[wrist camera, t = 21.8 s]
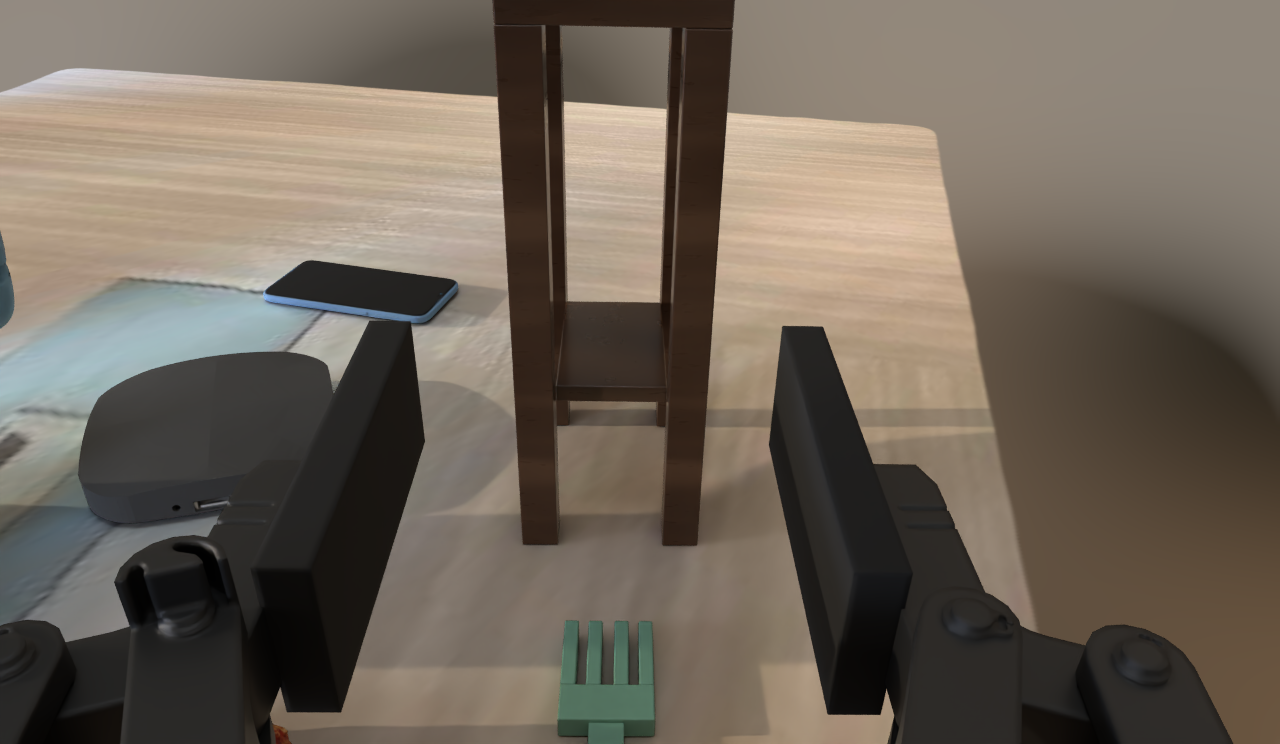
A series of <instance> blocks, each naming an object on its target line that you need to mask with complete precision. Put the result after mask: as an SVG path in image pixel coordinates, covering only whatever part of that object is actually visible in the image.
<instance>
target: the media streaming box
mask: <svg viewBox="0 0 1280 744" xmlns="http://www.w3.org/2000/svg"><path fill="white" fill-rule="evenodd" d="M332 397H333V391H332V385H331V379H330V374H329V370H328V366H327V365H326V364H325V363H324V362H322V361H320V360H318V359H316V358H313V357H310V356H307V355H303V354H297V353H290V352H250V353H237V354H227V355H219V356H211V357H205V358H199V359H194V360H188V361H184V362H179V363H174V364H170V365H166V366H162V367H159V368H155V369H151V370H149V371H146V372H143V373H141V374H138V375H136V376H134V377H131V378H129V379H127V380H125V381H123V382H121V383H119V384H117V385H116V386H114V387H112V388H111V389H109V390H108V391H106V392H105V393H104V394H103V395H101V396H100V397H99V399H98V400H97V402H96V404H95V406H94V408H93V410H92V412H91V414H90V417H89V420H88V422H87V426H86V429H85V433H84V437H83V441H82V446H81V452H80V460H79V471H78V476H79V479H80V482H81V485H82V488H83V491H84V493H85V496H86V499H87V502H88V504H89V507H90V509H91V510H92V511H93V512H94V513H95V514H96V515H98V516H99V517H101V518H104V519H106V520H110V521H114V522H120V523H139V522H146V521H153V520H160V519H167V518H173V517H180V516H186V515H192V514H198V513H204V512H210V511H216V510H221V509H224V507H225V506H227V502H228V500H229V498H230V496H231V495H232V493H233V491H234V489H235V487H236V486H237V484H238V482H239V480H240V479H241V478H243V477H244V476H245V475H246V474H247V473H249V472H250V471H251V470H252V469H254V468H255V467H256V466H257V465H258V464H260V463H261V462H262V461H263V460H302V459H303V457H304V455H305V453H306V451H307V449H308V447H309V445H310V443H311V441H312V439H313V437H314V434H315V432H316V430H317V428H318V426H319V424H320V422H321V420H322V418H323V416H324V414H325V412H326V410H327V408H328V406H329V403H330V401H331V399H332Z"/></svg>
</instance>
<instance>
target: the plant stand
mask: <svg viewBox="0 0 1280 744" xmlns="http://www.w3.org/2000/svg"><path fill="white" fill-rule="evenodd" d="M492 3H493V20H494V39H495V58H496V75H497V94H498V112H499V130H500V148H501V166H502V184H503V201H504V219H505V237H506V255H507V273H508V291H509V308H510V326H511V344H512V362H513V380H514V398H515V415H516V433H517V451H518V469H519V487H520V505H521V522H522V540H523V544H558V534H559V523H560V517H559V482H558V448H557V425H568V424H569V414H570V401H627V402H656V422H657V426H665V449H664V473H663V496H662V519H661V526H662V544H663V545H697V539H698V524H699V510H700V495H701V481H702V467H703V452H704V438H705V424H706V409H707V395H708V380H709V366H710V352H711V337H712V323H713V308H714V294H715V280H716V265H717V251H718V236H719V222H720V208H721V193H722V179H723V164H724V150H725V136H726V121H727V106H728V92H729V78H730V62H731V48H732V34H733V30H732V28H733V20H734V4H735V0H492ZM565 25H566V26H612V27H660V28H661V27H663V28H670V37H669V64H668V92H667V119H666V146H665V174H664V201H663V229H662V256H661V284H660V303H642V302H568V289H567V240H566V190H565V140H564V94H563V42H562V26H565Z"/></svg>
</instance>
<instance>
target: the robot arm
mask: <svg viewBox="0 0 1280 744" xmlns="http://www.w3.org/2000/svg"><path fill="white" fill-rule="evenodd" d="M13 311H14V292H13V285H12V280H11V276H10V273H9V269H8V266H7V265H6V256H5V248H4V244H3V240H2V236H1V232H0V329H1V328H2V327H3V326H5V325H6V324H7V323H8V321H9V320H10V318H11V316H12V314H13ZM424 443H425V438H424V429H423V421H422V412H421V404H420V395H419V387H418V378H417V370H416V361H415V353H414V344H413V336H412V327H411V321H369V323H368V325H367V327H366V329H365V331H364V333H363V335H362V337H361V339H360V341H359V344H358V346H357V348H356V350H355V352H354V354H353V356H352V358H351V360H350V362H349V364H348V366H347V368H346V370H345V372H344V375H343V377H342V379H341V381H340V383H339V385H338V387H337V389H336V391H335V393H334V395H333V397H332V399H331V401H330V403H329V406H328V408H327V410H326V412H325V414H324V416H323V418H322V420H321V422H320V424H319V426H318V428H317V430H316V432H315V434H314V437H313V439H312V441H311V443H310V445H309V447H308V449H307V451H306V453H305V455H304V457H303V459H302V460H263V461H262V462H261V463H260V464H258V465H257V466H256V467H255V468H254V469H252V470H251V471H250V472H249V473H247V474H246V475H245V476H244V477H243V478H241V479H240V480H239V482H238V484H237V486H236V487H235V489H234V491H233V493H232V495H231V496H230V498H229V500H228V502H227V506H225V507H224V509H223V511H222V512H221V514H220V516H219V518H218V520H217V525H214V527H213V529H212V530H211V532H210V534H209V536H208V537H201V536H196V535H190V536H179V537H172V538H169V539H166V540H162V541H159V542H156V543H153V544H151V545H149V546H148V547H146V548H144V549H142V550H141V551H139V552H137V553H135V554H134V555H133V556H132V557H131V558H130V559H129V560H128V561H127V562H126V563H125V564H124V565H123V566H122V567H121V568H120V569H119V572H118V574H117V577H116V579H115V581H114V583H115V586H116V589H117V592H118V594H119V597H120V600H121V603H122V605H123V608H124V611H125V614H126V617H127V619H128V622H129V625H130V627H127V628H124V629H120V630H117V631H114V632H110V633H106V634H101V635H97V636H92V637H88V638H84V639H79V640H75V641H70V642H65V640H64V638H63V636H62V634H61V631H60V629H59V628H58V627H56V626H54V625H52V624H50V623H48V622H46V621H36V620H24V621H18V622H13V623H8V624H4V625H1V626H0V744H276V740H275V732H274V728H273V724H272V721H271V717H270V712H271V709H272V707H273V704H274V701H275V699H276V696H277V694H278V691H279V688H280V687H281V691H282V695H283V699H284V703H285V706H286V710H287V712H341V711H342V708H343V704H344V701H345V698H346V695H347V692H348V688H349V685H350V682H351V679H352V675H353V672H354V669H355V666H356V662H357V659H358V656H359V653H360V649H361V646H362V643H363V640H364V637H365V633H366V630H367V627H368V624H369V620H370V617H371V614H372V611H373V607H374V604H375V601H376V598H377V594H378V591H379V588H380V585H381V582H382V578H383V575H384V572H385V569H386V565H387V562H388V559H389V556H390V552H391V549H392V546H393V543H394V540H395V536H396V533H397V530H398V527H399V523H400V520H401V517H402V514H403V510H404V507H405V504H406V501H407V497H408V494H409V491H410V488H411V485H412V481H413V478H414V475H415V472H416V468H417V465H418V462H419V459H420V455H421V452H422V449H423V446H424ZM769 447H770V452H771V457H772V461H773V466H774V470H775V475H776V479H777V484H778V489H779V493H780V498H781V502H782V507H783V512H784V516H785V521H786V525H787V530H788V535H789V539H790V544H791V548H792V553H793V557H794V562H795V567H796V571H797V576H798V580H799V585H800V590H801V594H802V599H803V603H804V608H805V613H806V617H807V622H808V626H809V631H810V635H811V640H812V645H813V649H814V654H815V658H816V663H817V668H818V672H819V677H820V681H821V686H822V690H823V695H824V700H825V704H826V709H827V713H828V715H881V710H882V706H883V702H884V697H885V693H886V689H887V692H888V695H889V699H890V702H891V705H892V709H893V712H894V719H893V723H892V728H891V732H890V736H889V740H888V744H1233V742H1232V740H1231V738H1230V736H1229V735H1228V732H1227V730H1226V728H1225V726H1224V724H1223V722H1222V720H1221V718H1220V716H1219V714H1218V712H1217V710H1216V708H1215V707H1214V705H1213V703H1212V701H1211V699H1210V697H1209V695H1208V693H1207V691H1206V689H1205V687H1204V685H1203V683H1202V681H1201V679H1200V677H1199V675H1198V673H1197V671H1196V669H1195V667H1194V666H1193V665H1192V663H1191V662H1190V661H1189V659H1188V658H1187V657H1186V655H1185V654H1184V653H1183V652H1182V651H1181V650H1180V649H1178V648H1177V647H1176V646H1174V645H1173V644H1172V643H1170V642H1169V641H1168V640H1166V639H1165V638H1163V637H1161V636H1159V635H1157V634H1154V633H1152V632H1150V631H1148V630H1146V629H1142V628H1137V627H1133V626H1128V625H1111V626H1104V627H1102V628H1100V629H1098V630H1096V631H1094V632H1092V634H1091V636H1090V638H1089V640H1088V641H1087V643H1086V646H1085V645H1081V644H1077V643H1073V642H1068V641H1065V640H1061V639H1057V638H1053V637H1049V636H1045V635H1042V634H1039V633H1036V632H1033V631H1030V630H1028V629H1026V628H1024V627H1022V626H1020V622H1019V619H1018V618H1017V617H1016V616H1015V614H1014V613H1013V612H1012V611H1011V609H1010V608H1009V607H1008V606H1007V605H1006V604H1004V603H1003V602H1001V601H1000V600H998V599H997V598H995V597H994V596H993V595H990V594H988V593H985V591H984V588H983V586H982V584H981V582H980V580H979V577H978V575H977V573H976V571H975V568H974V566H973V564H972V562H971V559H970V557H969V555H968V553H967V550H966V548H965V546H964V544H963V542H962V539H961V537H960V535H959V533H958V530H957V529H955V524H954V521H953V519H952V517H951V515H950V512H949V511H947V506H946V504H945V501H944V499H943V497H942V495H941V492H940V490H939V488H938V486H937V484H936V483H935V482H934V481H933V480H932V479H931V478H929V477H928V476H927V475H926V474H925V473H924V472H923V471H922V470H921V469H920V468H919V467H918V466H917V465H899V464H873V462H872V459H871V457H870V454H869V451H868V448H867V446H866V443H865V440H864V438H863V435H862V432H861V429H860V427H859V424H858V421H857V418H856V416H855V413H854V410H853V408H852V405H851V402H850V399H849V397H848V394H847V391H846V388H845V386H844V383H843V380H842V378H841V375H840V372H839V369H838V367H837V364H836V361H835V358H834V356H833V353H832V350H831V347H830V345H829V342H828V339H827V337H826V334H825V331H824V328H823V327H814V326H782V335H781V343H780V352H779V361H778V370H777V379H776V387H775V396H774V405H773V414H772V423H771V431H770V440H769Z"/></svg>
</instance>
